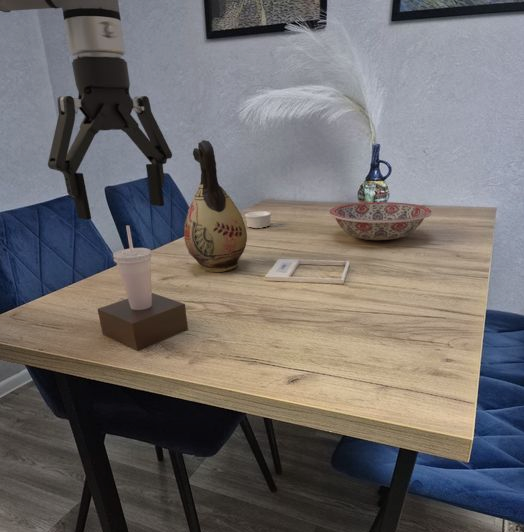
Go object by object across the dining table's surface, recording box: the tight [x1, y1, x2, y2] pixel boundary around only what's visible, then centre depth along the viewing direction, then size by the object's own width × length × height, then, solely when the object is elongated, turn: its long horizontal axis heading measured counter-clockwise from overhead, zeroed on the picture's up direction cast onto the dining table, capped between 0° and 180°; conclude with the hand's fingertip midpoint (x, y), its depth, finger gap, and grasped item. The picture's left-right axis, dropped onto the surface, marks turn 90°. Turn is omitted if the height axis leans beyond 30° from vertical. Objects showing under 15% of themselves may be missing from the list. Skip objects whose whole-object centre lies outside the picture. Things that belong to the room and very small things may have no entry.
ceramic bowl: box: [328, 201, 433, 241], centre depth 139 cm, size 29×29×8 cm
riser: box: [97, 292, 189, 352], centre depth 85 cm, size 11×11×5 cm
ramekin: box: [244, 211, 272, 228], centre depth 161 cm, size 9×9×4 cm
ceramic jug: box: [183, 139, 248, 273], centre depth 113 cm, size 17×15×30 cm
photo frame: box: [264, 258, 351, 285], centre depth 113 cm, size 15×1×18 cm
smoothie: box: [112, 225, 153, 310], centre depth 80 cm, size 6×6×14 cm
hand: (123, 211), depth 76 cm, fingers open, 13 cm apart
